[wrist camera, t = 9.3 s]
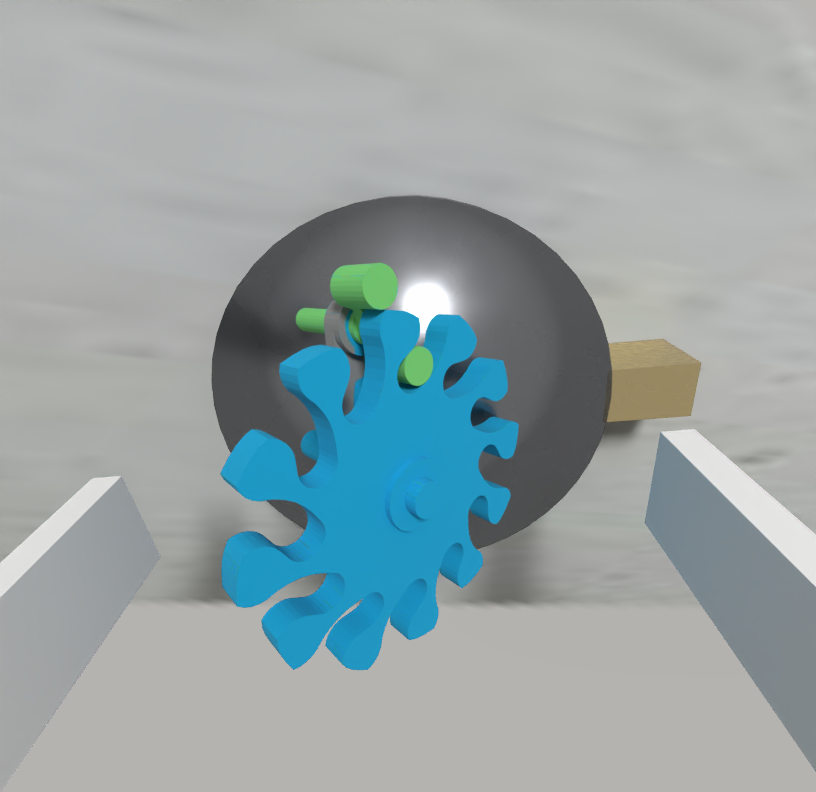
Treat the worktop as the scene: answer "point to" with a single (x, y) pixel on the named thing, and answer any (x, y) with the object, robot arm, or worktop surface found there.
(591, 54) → the worktop surface
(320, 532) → the gear
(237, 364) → the dark grey frying pan
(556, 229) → the worktop surface
